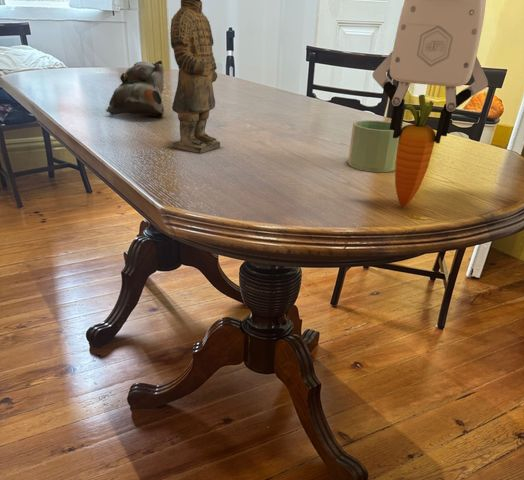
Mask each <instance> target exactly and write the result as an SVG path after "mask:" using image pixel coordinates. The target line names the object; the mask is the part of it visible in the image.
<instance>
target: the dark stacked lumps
mask: <svg viewBox="0 0 524 480" xmlns="http://www.w3.org/2000/svg"><path fill="white" fill-rule="evenodd" d="M164 71H165V70H164V66H163V62H162V60H158V61H156V62H155V63H153V62H149V61H138V62H135V63H134V64H133V65H132V66H131V67H128V69H127V70H126V71H125V72H122V73H121V75H120V77H119V80H120V81H121V82H122V83H121V84H120V85H118V87H116V88H115V89H114V91H113V94H112V95H111V97H110V100H109V102H108V107H107V108H106V109H105V111H106V113H109V114H110V115H111V116H113V115H121V114H127V115H129V114H130V115H147V116H149V115H150V116H153V117H159V118H163V116H164V114H165V106H164V103H163V98H162V97H163V96H162V94H163V91H164V86H165V85H164V74H165V73H164Z"/></svg>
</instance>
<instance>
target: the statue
mask: <svg viewBox="0 0 524 480" xmlns="http://www.w3.org/2000/svg"><path fill="white" fill-rule="evenodd" d="M170 20H171V21H170V30H169V31H170V32H169V35H170V36H169V37H170V46H171V49H172V50H173V55H174V60H175V63H176V65H177V67H178V75H177V77H178V78H177V85H176V86H177V87H176V90H175V94H174V98H173V101H172V105H171V109H172V111H173V112H175V113H176V114H177V119H178V121H179V136H180V137H179V138H180V139H179V140H178V141H174V142H173V148H174V149H176V150H177V149H178V150H181V151H182V150H183V151H187V152H193V153H197V154H202V153H205V152H209V151H212V150H215V149H219V148H221V142H220V141H218V140H217V138H215V137H213V136H210V135H209V134H207V133H206V127H207V122H208V119H209V116H210V111H212V110H214V109H215V108H216V98H215V93H214V87H213V86H214V85H213V83H214V82H216V81H217V80H218V79H217V78H218V74H217V71H216V70H217V63H216V59H215V57H214V52H213V46H214V37H213V33H212V28H211V24H210V21H209V19H208V17H207V16H206V15H205V14H204V13H203V1H202V0H180V8H179V9H178V10H177V11H176V13H175V14H174V15H173V17H172V18H171V19H170Z"/></svg>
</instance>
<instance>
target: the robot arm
mask: <svg viewBox="0 0 524 480" xmlns="http://www.w3.org/2000/svg"><path fill="white" fill-rule="evenodd" d="M486 2H487V0H404V2H403V5H402V8H401V12H400V16H399V20H398V24H397V28H396V33H395V38H394V41H393V42H394V43H393V48H392V51H391V52H390V53H389V54H388V55H387V56H386V57H385V58H384V59H383V61H382V62H381V63H380V64H379V65H378V66H377V67H376V68H375V70H373V72H372V74H371V75H372V78H373V79H374V81H375V82H376V83H377V84H378V85H379V86H380V87H381V88H382V90H383V92H385V94H386V96H387V98H388V99H389V100H390V102H391V104H392V106H393V107H392V113H391V118H390V122H391V124H390V130H394V133H393V138H398V137H399V135H400V131H401V128H402V126H403V122H404V117H405V111H406V106H407V104H405V103H406V99H405V97H406V94H407V93H408V90H409V88H410V86H411V84H419V85H428V86H439V87H444V91H445V103H444V105H443V108H442V109H441V111H440V114H439V119H438V123H437V128H436V132H435V141H434V143H435V144H440V143H441V139H442V137H448V133H449V127H450V123H451V119H452V115H453V112H454V111H455V110H456V109H457V108H459V107H460V106H461V105H462V104H464V103H466V101H468V100H469V99H470V98H472V97H473V96H475V95H477V94H479V93H480V92H481V91H484V90H485V89H487V88H488V86H489V81H488V78H487V76H486V74H485V72H484V70H483V67H482V65H481V63H480V61H479V59H478V56H477V55H478V51H479V46H480V40H481V35H482V31H483V26H484V19H485V13H486V4H487V3H486ZM388 71H389V76H390V77H391V78H392V79H393V80H395V81H397V82H398V86H396V85H395V83H394V82H393V80H391V79H390V77H389V76H388V74H387V73H388ZM472 77H473V79H474V81H473V82H472V83H471V84H470V85H468V86H467V87H465V88H463V89H461V91H460V92H458V93H457V87H461V86H464V85H466V84H467V83H468V82H469V81H470V79H471V78H472Z"/></svg>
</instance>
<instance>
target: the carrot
mask: <svg viewBox="0 0 524 480" xmlns="http://www.w3.org/2000/svg"><path fill="white" fill-rule="evenodd" d="M418 103H419V109H416V106H414V105H413V104H411V103H408V104H406V107H405V109H407V110H408V111H410V113H411V115H412V116H413V119H414V123H411V124H406V125H404V126H403V128H402V129H401V131H400V135H399V141H398V147H397V154H396V162H395V170H394V172H395V173H394V186H395V192H396V196H397V200H398V203H399V205H400V206H401V208H405V207H407V206H408V205H409V204H410V202H411V201H412V200H413V198H414V197H415V196H416V194H417V192H418V191H419V189H420V187H421V185H422V183H423V181H424V178H425V177H426V173H427V170H428V168H429V165H430V161H431V157H432V153H433V150H434V146H435V142H434V141H435V136H436V132H435V129H433V128H432V127H431V126H430V125H427V124H426V122H427V121H428V119H429V117H430V115H431V113H432V110H433V107H434V104H435V103H434V102H433V101H432V100H429V102H428V101H426V95H425V94H420V95H418Z"/></svg>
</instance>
